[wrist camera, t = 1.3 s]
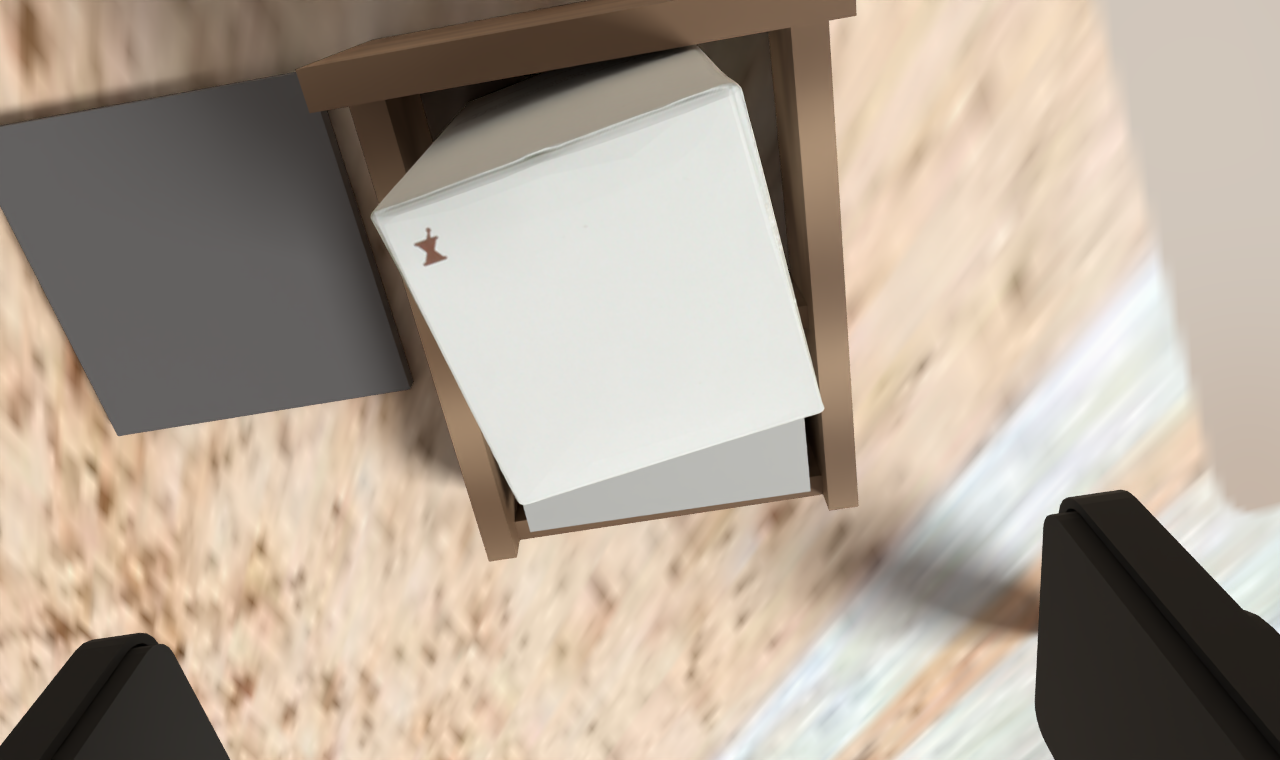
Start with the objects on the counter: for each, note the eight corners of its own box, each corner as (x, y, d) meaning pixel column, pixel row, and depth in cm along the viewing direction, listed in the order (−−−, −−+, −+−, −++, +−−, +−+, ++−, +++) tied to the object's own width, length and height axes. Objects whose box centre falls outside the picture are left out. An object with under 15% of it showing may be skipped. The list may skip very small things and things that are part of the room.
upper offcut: (511, 397, 30) (503, 431, 28) (788, 354, 29) (801, 386, 27) (536, 492, 32) (530, 532, 29) (797, 453, 31) (810, 491, 29)
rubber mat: (-24, 130, 27) (-37, 133, 27) (313, 68, 27) (307, 71, 26) (126, 428, 32) (118, 435, 32) (413, 381, 32) (410, 389, 31)
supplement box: (547, 305, 30) (508, 518, 19) (462, 98, 27) (352, 206, 16) (749, 239, 29) (833, 422, 18) (685, 17, 26) (739, 71, 15)
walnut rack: (371, 40, 26) (294, 69, 20) (796, -38, 26) (854, -33, 19) (502, 496, 34) (476, 621, 28) (832, 446, 33) (882, 562, 27)
